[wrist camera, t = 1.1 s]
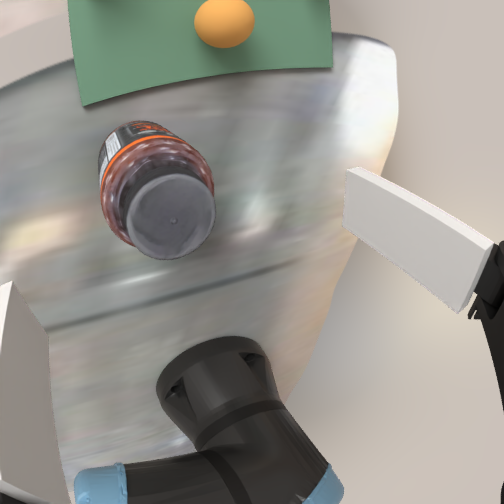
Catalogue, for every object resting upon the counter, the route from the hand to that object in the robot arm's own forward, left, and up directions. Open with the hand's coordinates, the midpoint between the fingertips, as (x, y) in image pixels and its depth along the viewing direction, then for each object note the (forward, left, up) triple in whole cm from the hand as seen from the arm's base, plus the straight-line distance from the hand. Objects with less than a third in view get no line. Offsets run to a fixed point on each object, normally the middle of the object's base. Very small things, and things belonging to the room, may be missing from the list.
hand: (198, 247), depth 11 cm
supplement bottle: (0, 0, -14) cm, 14 cm away
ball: (+9, -7, -14) cm, 18 cm away
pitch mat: (+16, -7, -14) cm, 22 cm away
